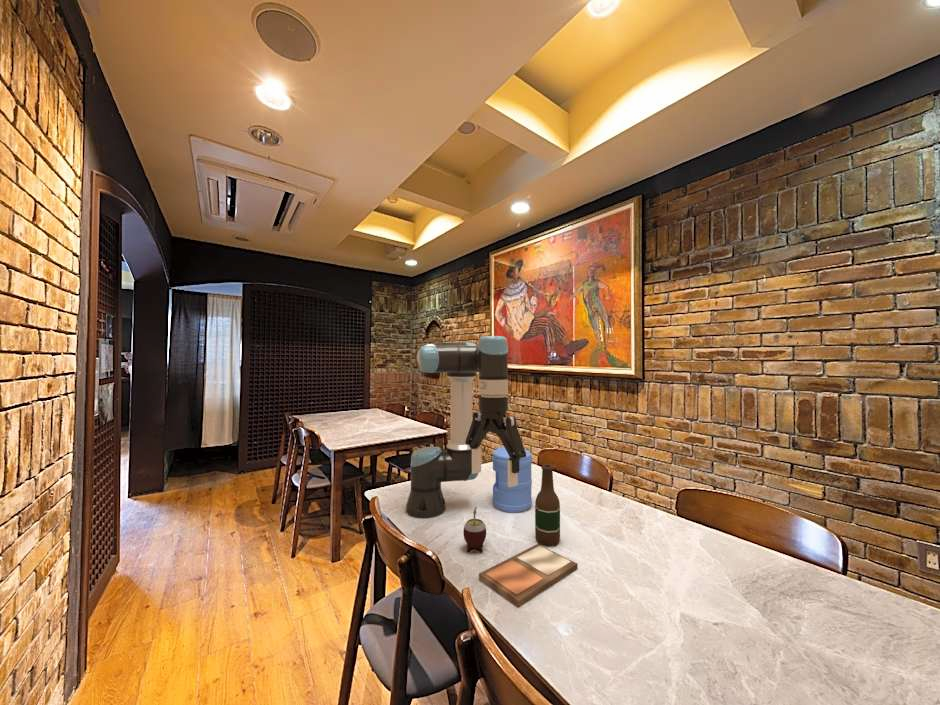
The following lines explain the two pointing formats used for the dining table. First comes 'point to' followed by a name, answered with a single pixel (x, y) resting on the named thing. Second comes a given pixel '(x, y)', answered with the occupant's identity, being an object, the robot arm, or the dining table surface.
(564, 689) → the dining table surface
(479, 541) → the mate gourd
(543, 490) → the beer bottle
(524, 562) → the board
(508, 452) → the robot arm
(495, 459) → the water jug
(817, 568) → the dining table surface
